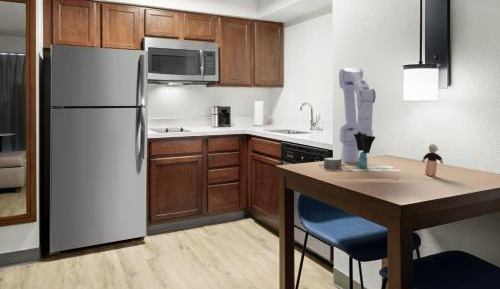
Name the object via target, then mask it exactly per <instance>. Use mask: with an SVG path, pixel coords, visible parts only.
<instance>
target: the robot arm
mask: <svg viewBox="0 0 500 289" xmlns="http://www.w3.org/2000/svg"><path fill="white" fill-rule="evenodd" d="M363 78H364V71H363V69H362V68H360V67H359V68H350V67H349V68H345V67H341V68H340V70H339V72H338V84H339V88H340V89H342V91H343V98H344V116H345V123H344V124H343V125H342V126H340V128H339V142H340V143H341V144H342V147H341V154H340V155H341V158H340V159H342V160H341V161H342V162H344V163H359V157H360V152H363V153H366V154H369V153H370V151H371V149H372V144H373V142H374V141H375V139H376V136H373V132H374V131H373V128H372V126H373V108H374V105H373V104H374V103H375V102H376V94H377V93H376V91H375V89H374V88H370V87H369V85H368V83H367V82H366V81H365V80H364V79H363ZM355 94H356V98H355ZM356 107H357V108H356ZM356 109H357V112H356Z"/></svg>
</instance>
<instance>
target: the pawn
mask: <svg viewBox="0 0 500 289" xmlns="http://www.w3.org/2000/svg"><path fill="white" fill-rule="evenodd" d="M367 154H368V153H363V151H360V152H359V162H358V165H357V166H358V168H359V169H367V166H368V157H367V156H368V155H367Z"/></svg>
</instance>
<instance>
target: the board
mask: <svg viewBox="0 0 500 289" xmlns="http://www.w3.org/2000/svg"><path fill="white" fill-rule="evenodd" d="M318 166H319V167H320V168H321V169H323V170H324V171H325V172H341V169H340V170H337V169H330V170H327V168H325V167H324V166H323V165H322V164H318ZM342 166H345V167H346V168H347V169H349V171H351V172H356V171H357V172H371V171H372V172H401V170H400V169H399V168H396V167H394V166H392V165H367V169H359V168H358V165H345V164H341V167H342Z"/></svg>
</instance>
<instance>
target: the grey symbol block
mask: <svg viewBox="0 0 500 289" xmlns="http://www.w3.org/2000/svg"><path fill="white" fill-rule="evenodd" d="M342 161H343V160H342V159H341V158H338V157H337V158H336V157H326V158H323V168H325V169H330V170H337V169H341V168H342V166H341V165H342Z"/></svg>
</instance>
